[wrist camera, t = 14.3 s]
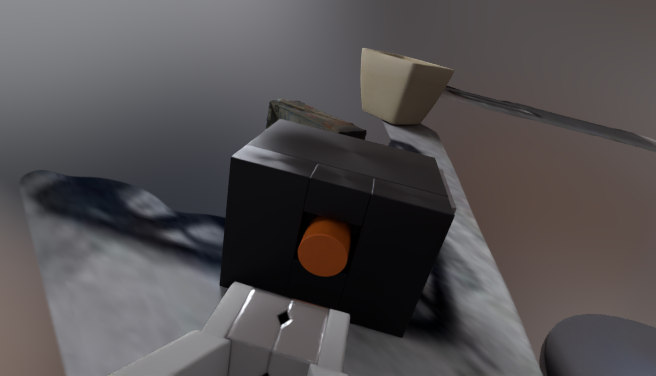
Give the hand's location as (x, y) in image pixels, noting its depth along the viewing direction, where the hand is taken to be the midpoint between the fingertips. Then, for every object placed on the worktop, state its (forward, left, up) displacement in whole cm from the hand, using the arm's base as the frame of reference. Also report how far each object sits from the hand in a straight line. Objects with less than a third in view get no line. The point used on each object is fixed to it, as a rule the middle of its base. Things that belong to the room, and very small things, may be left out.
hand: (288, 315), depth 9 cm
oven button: (0, -15, -10) cm, 18 cm away
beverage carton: (+9, -56, -15) cm, 58 cm away
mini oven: (0, -21, -15) cm, 26 cm away
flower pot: (-7, -96, -15) cm, 98 cm away
